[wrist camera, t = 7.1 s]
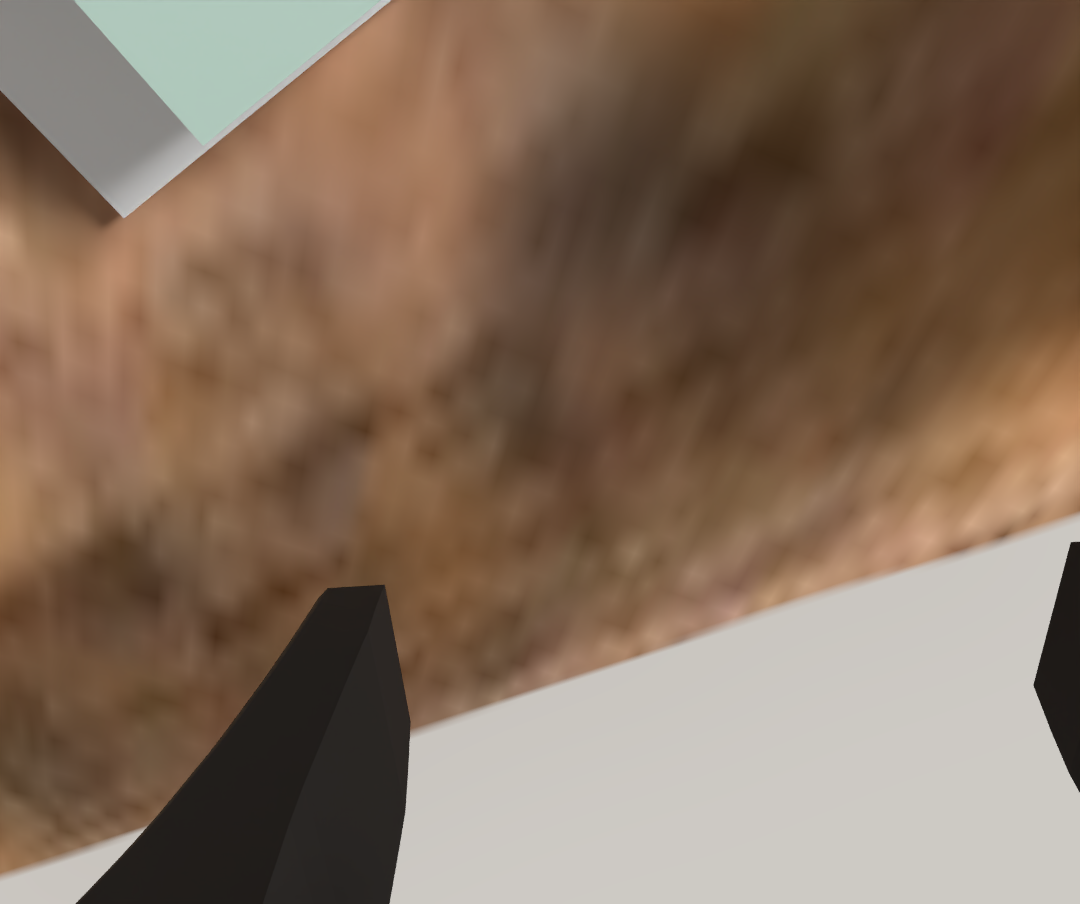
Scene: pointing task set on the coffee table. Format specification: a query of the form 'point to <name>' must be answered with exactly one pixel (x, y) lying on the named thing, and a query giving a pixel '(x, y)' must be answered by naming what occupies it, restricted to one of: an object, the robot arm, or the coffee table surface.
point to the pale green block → (219, 48)
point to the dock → (102, 100)
